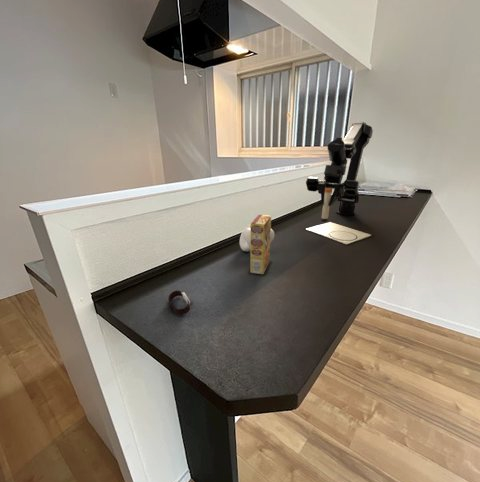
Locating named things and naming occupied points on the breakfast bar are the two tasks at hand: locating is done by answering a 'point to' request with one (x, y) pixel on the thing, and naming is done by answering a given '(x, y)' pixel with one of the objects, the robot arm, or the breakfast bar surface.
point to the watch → (179, 293)
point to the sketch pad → (338, 233)
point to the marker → (326, 204)
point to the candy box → (260, 243)
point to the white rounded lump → (249, 238)
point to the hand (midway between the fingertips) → (325, 205)
